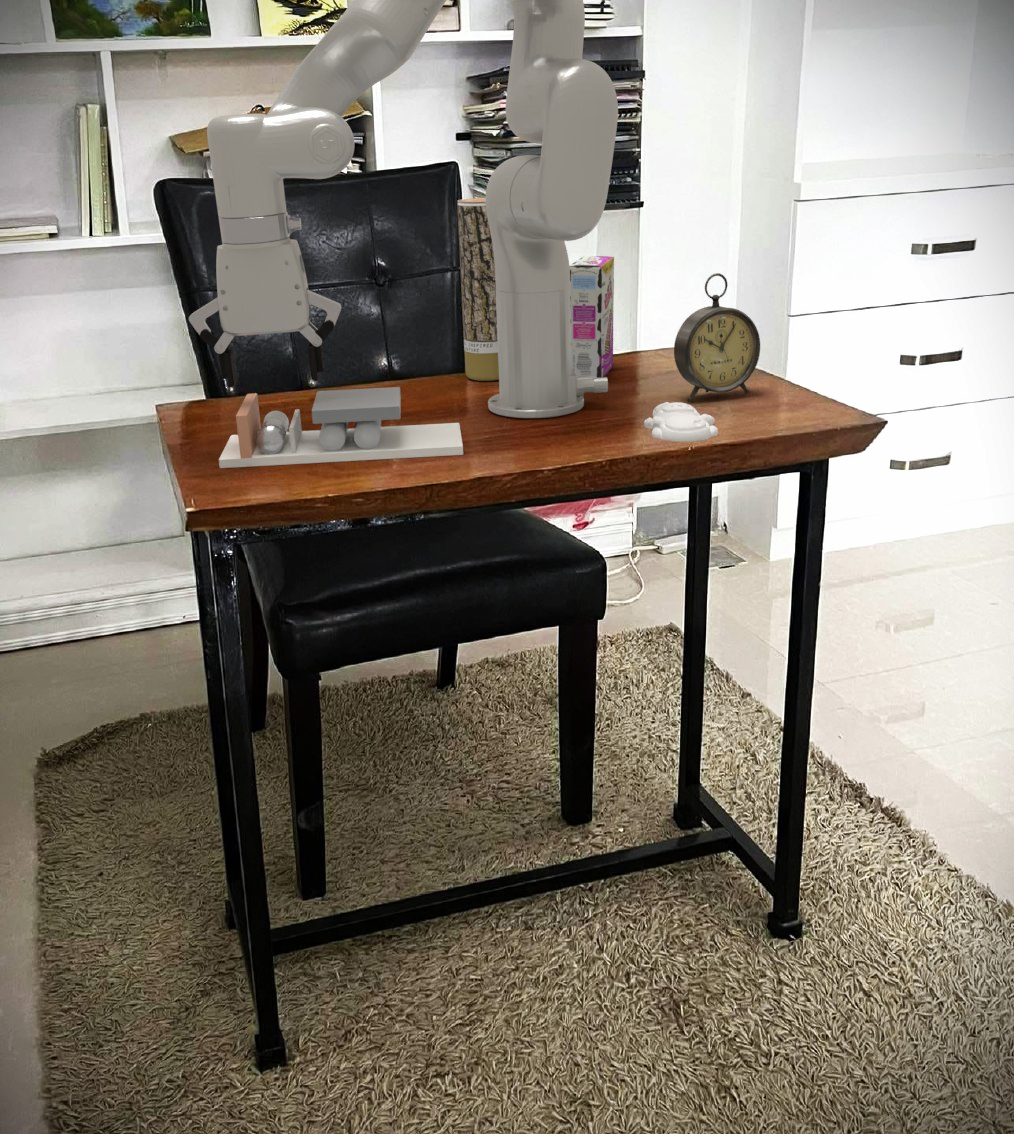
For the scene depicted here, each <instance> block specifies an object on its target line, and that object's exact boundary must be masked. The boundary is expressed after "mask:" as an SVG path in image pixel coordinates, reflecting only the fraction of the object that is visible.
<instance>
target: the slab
mask: <svg viewBox="0 0 1014 1134" xmlns="http://www.w3.org/2000/svg"><path fill="white" fill-rule="evenodd" d="M401 399H402V398H401V387H400V386H392V387H391V386H390V387H389V386H388V387H371V388H370V387H369V388H355V389H353V388H351V389H335V390H333V389H332V390H317V391H316V395H315V399H314V401H313V404H312V408H311V417H312V424H314V425H315V424H322V423H337V422H348V423H351V422H352V423H353V422H355V423H356V421H374V420H381V421H388V420H391V421H392V420H401V411H402V410H401V408H402V406H401V401H402V400H401Z"/></svg>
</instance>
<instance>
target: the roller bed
mask: <svg viewBox="0 0 1014 1134" xmlns="http://www.w3.org/2000/svg"><path fill="white" fill-rule="evenodd" d="M241 403H242V404H241V405H240V407H239V409H238V410H237V413H236V415H235V422H236V427H237V429H236V430H237V434H231V435H230V437H229V439H228V441H227V442H226V445H225V447H224V449H223V451H222V452H221V454H220V457H219V458H218V465H219V469H227V468H230V469H231V468H248V467H265V466H267V467H269V466H281V465H282V466H283V465H284V466H285V465H286V466H287V465H303V464H318V463H339V462H353V461H354V462H356V461H359V462H360V461H371V460H372V461H374V460H375V461H376V460H390V459H391V460H392V459H393V460H394V459H410V458H411V459H412V458H427V457H443V456H444V457H447V456H463V455H464V445H463V438H462V432H461V427H460V425H461V424H460V422H448V423H428V424H415V425H412V424H411V425H410V424H409V425H393V426H391V425H390V426H382V420H374V421H356V422H355V425H354V426H355V427H352V428H348V425H349V422H337V423H321V427H320V429H316V430H302V420H301V411H300V409H298V408H297V409H295V410H294V413H293V415H292V419H291V422H290V423H289V426H288V431H287V433H286V436H285V439H284V442H283V445H282V448H281V450H280V451H279V452H277V453H276V454H272V455H268V454H265V453H263V452H261V451H260V450H259V448H258V447H257V443H256V440H257V436H258V434H259V431H260V429H261V426H262V424H261V417H260V416H261V415H260V406H259V398H258V393H256V392H255V393H247V394H246V395H245V398H244V399H243V401H242V402H241Z"/></svg>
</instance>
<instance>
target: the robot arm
mask: <svg viewBox="0 0 1014 1134" xmlns="http://www.w3.org/2000/svg"><path fill="white" fill-rule="evenodd" d="M446 2H447V0H352V1H351V2H350V3H349V5H348V6H347V8H346V10H345V11H344V12H343V14H342V15H341V16H340V17H339V18H338V19H337V20H336V22H334V24H333V25H332V26H331V27H329V29H328V31H327V32H326V33H325V34H324V35H323V37H322V38H321V39H320V41H319V42H317V44H316V45H315V46H314V47H313V48H312V50H310V51H309V53H307V55H306V56H305V58H304V59H302V61H301V62H300V63H299V65H298V66H297V68H296V69H294V71H293V73H292V74H291V76H290V78H289V79H288V80H287V82H286V84H284V86H283V88H282V89H281V91H280V93H279V94H278V96H277V98H275V101H274V102H273V104H272V105H271V107H270V109H269V111H268V112H267V113H266V114H265V113H241V114H228V115H226V114H225V115H220V116H217V117H214V118H212V119H211V120H209V122H208V124H207V129H206V134H207V135H206V136H207V143H208V152H209V159H210V164H211V165H210V166H211V172H212V178H213V179H212V180H213V185H214V193H215V194H214V195H215V201H216V209H217V215H218V223H219V228H220V237H221V243H222V244H220V245H217V246H216V261H215V262H216V265H215V267H216V273H215V274H216V290H217V291H216V293H217V297H215V298H213V300H212V301H209V302H208V303H207V304H205V305H203V306H201V307H200V308H199V309H197V310H195V311H193V313H191V314H190V315H189V316H188V321H189V323H190V324H191V326H192V327H193V328H194V330H195V331H196V333H198V335H199V337H200V339H201V340H202V341H203V342H204V343H206V344H207V345H208V346H209V347H211V348H212V349H213V350H214V352H215V353H217V354H218V359H219V360H218V361H219V366H220V368H219V369H220V373H221V378H222V380H227V387H228V388H233V387H235V386H236V384H237V382H238V373H237V366H236V360H235V352H234V349H232V347H231V342H232V341H233V339H234V338H235V337H236V336H237V337H238V336H239V337H241V336H257V335H270V334H281V333H282V334H284V333H294V332H300V334H301V335H302V336H303V337H304V338H305V339H306V340H307V341H308V343H309V344H308V347H307V352H308V360H309V369H310V378H311V381H313V382H318V381H319V378H320V373H322V372H325V364H324V356H323V346H322V344H323V342H324V341H325V340H326V338H327V337H328V336H329V335H330V334H331V333H332V332H333V330H334V329H335V326H336V323H337V320H338V318H339V316H340V314H341V311H342V304H341V303H339V302H337V301H335V300H332V299H331V298H328V297H327V296H323V295H322V294H318V293H316V292H313V291H311V290H309V285H308V278H307V272H306V269H305V268H306V267H305V263H304V260H303V255H302V252H301V249H300V245H299V243H298V240H297V239H291V238H290V236H291V234H293V232H294V233H295V232H296V231H299V230H300V231H301V230H302V219H301V217H294V216H291V214H289V213H288V211H287V205H286V204H287V202H286V195H285V194H286V193H285V186H284V179H310V180H312V179H313V180H322V179H323V180H324V179H329V178H332V177H334V176H336V175H338V174H340V173H341V172H343V170H344V169H346V167H348V165H349V164H350V162H351V161H352V158H353V156H354V153H355V137H354V133H353V131H352V129H351V127H350V125H349V124H348V123H347V121H346V120H345V119H344V118H343V116H344V114H345V113H346V112H347V111H348V109H349V108H350V107H351V106H352V105H353V104H354V103H355V102H356V100H357V99H359V97H361V95H363V93H365V92H366V91H367V90H368V89H370V88H372V87H373V86H374V85H376V84H377V83H379V82H381V81H382V80H384V79H385V78H388V77H389V76H391V75H392V74H393V73H395V72H396V71H398V70H399V69H400V68H401V67H402V66H403V65H404V64H406V63H407V61H409V60H410V58H411V57H412V55H413V54H414V53H415V52H416V50H417V47H418V46H419V44H420V43H421V41H422V39H423V38H424V36H425V35H426V33H427V32H428V30H429V29H430V27H431V25H432V23H434V21H435V20H436V17H437V16H438V14H439V13H440V11H441V9H442V8H443V6H444V5H445V3H446ZM510 2H511V5H512V11H513V33H512V34H513V35H512V36H513V37H512V46H511V54H510V62H509V63H510V64H509V70H508V72H509V73H508V81H507V82H508V83H507V90H506V97H505V118H506V122H507V125H508V127H509V129H510V131H512V133H513V134H514V136H516V137H517V138H519V139H520V140H523V141H525V142H528V143H530V144H531V143H533V144H536V145H537V144H538V145H539V144H540V145H541V150H540V155H536V154H535V155H534V154H533V155H532V154H525V155H517V156H514V157H510V158H509V159H506V160H504V161H503V162H502V163H500V164H499V165H498V166H497V167H496V168H495V169H494V170H493V172H492V174H491V175H490V176H489V180H488V182H487V184H486V185H487V186H486V190H485V197H484V198H485V202H486V213H487V218H488V223H489V228H490V233H491V238H492V244H493V252H494V263H495V282H496V313H497V339H498V364H499V380H498V383H499V384H498V385H499V386H498V387H499V389H498V390H499V393H497V394H494V395H493V396H491V397H489V399H488V400H487V405H488V410H489V411H490V412H492V413H493V414H495V415H498V416H503V417H507V418H518V419H543V418H545V419H546V418H554V417H560V416H566V415H570V414H573V413H576V412H579V411H580V410H582V409H583V407H584V406H585V398H584V394H585V393H596V394H597V393H607V392H608V391H609V381H608V377H607V376H605V377H600V378H596V377H595V376H586V377H583V376H580V377H578V375H576V374H575V372H574V371H573V369H572V367H571V318H570V266H569V265H570V261H569V255H568V250H567V245H566V242H570V241H576V240H579V239H582V238H584V237H586V236H587V235H588V234H590V233H592V231H593V230H594V229H595V228H596V226H597V225H598V223H599V222H600V220H601V218H602V216H603V213H604V210H605V206H606V204H607V199H608V194H609V186H610V179H611V171H612V167H613V166H612V165H613V160H614V159H613V158H614V153H615V152H614V150H615V143H616V135H617V128H618V118H619V105H618V104H619V103H618V98H617V92H616V89H615V86H614V83H613V81H612V79H611V77H610V76H609V74H608V72H606V70H605V69H603V67H601V66H600V65H598V64H597V63H595V62H594V61H591V60H587V59H583V49H584V37H585V28H586V27H585V25H586V24H585V22H586V21H585V20H586V13H585V4H584V0H510ZM565 241H566V242H565ZM312 306H314V307H316V308H319V309H321V310H324V311H325V312H326V314H327V315H326V317H325V320H324V321H323V322H322V324H321V325H320V326H319V328H317V327H316V325H314V324H313V323H312V322H311V321H310V320H312ZM217 312H218V313H219V316H218V317H219V321H220V326H221V328H222V329H221V330H223V333H222V334H221V336H220V335H219V334H218V333H216V332H215V331H214V330H212V328H210V327H209V326H208V324H207V322H206V320H207V318H209V317H211V316H212V315H214V314H215V313H217Z"/></svg>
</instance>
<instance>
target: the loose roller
mask: <svg viewBox="0 0 1014 1134" xmlns="http://www.w3.org/2000/svg"><path fill="white" fill-rule="evenodd" d="M289 427H290V422H289V417H288V416H287V415H286V413H284V412H282V411H280V410H272V411H270V412H268V413H267V414H266V415H265V417H264V418H263V422H262V424H261V429H260V431H259V434H258V436H257V440H256V443H257V447H258V448H259V450H260V451H261V452H263V453H265V454H268V455H272V454H276V453H277V452H279V451H280V450H281V448H282V445H283V442H284V439H285V436H286V433H287V432H288V430H289Z"/></svg>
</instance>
